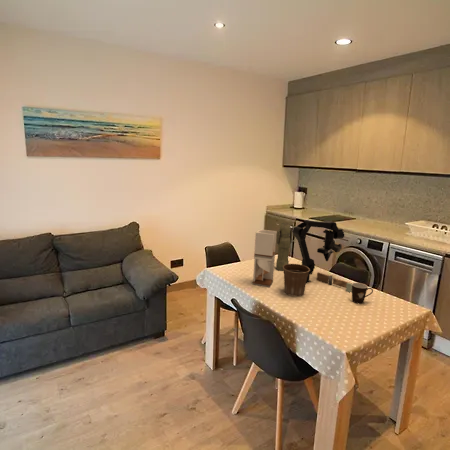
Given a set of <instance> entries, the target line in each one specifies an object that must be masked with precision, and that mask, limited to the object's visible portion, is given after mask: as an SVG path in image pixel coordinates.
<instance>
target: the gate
mask: <svg viewBox="0 0 450 450" xmlns="http://www.w3.org/2000/svg"><path fill="white" fill-rule="evenodd" d="M347 283H351V284H352V282H349V281H346V280H342V279H340V278H339V279H338V278H336V277H333V279H332V285H335V286H338V287H340V288H344V289H346V285H347Z"/></svg>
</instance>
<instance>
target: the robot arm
mask: <svg viewBox="0 0 450 450" xmlns="http://www.w3.org/2000/svg"><path fill="white" fill-rule="evenodd" d="M311 227H312V228H319V229H320V228H323V229H325V230H322V233H323V234H325V235H324V239H323V241H322V242H323V243H324V244H323V245H322V247H318V248H317V249H316V252H317V253H319V254H322V255H323V257H324V260H325V261H326V262H328V261H329V259H330V258H331V255H332V254H333V253H340V251H341V250H342V249H343V248H342V247H343V245H342V244H341V243H338V244H337V243H336V241H335V240H338V239H344V238H345V232H344V229H343V228H338V224H337V222H335V221H331V220H324V221H316V220H310V219H305V220H304V221H303V222H301V223H300V224H297V226H295V227H294V228H293V229H292V235H293V236H294V238H295V239H296V240H297V243H298V246H299V251H300V253H301V258H302V260H301V265H304V266H306V267H308V268H309V269H310V271H309V273H308V277H307V280H306V284H308V283H311V282H312V281H311V280H310V275H313V272H314V269H315V268H316V267H315V266H316V264H315V260H314V259H312V258H311V257H310V253H309V249H308V245H307V242H306V237H307V233H309V231H310V229H311Z"/></svg>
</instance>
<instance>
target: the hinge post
mask: <svg viewBox="0 0 450 450" xmlns="http://www.w3.org/2000/svg"><path fill="white" fill-rule="evenodd" d="M316 274H317V275H316V281H318V282H320V283H323V284H326V285H328V286H332V285H333V278H334V276H333V274H332V275H331V274H329V275H328V274H325V273H321V272H317V273H316Z"/></svg>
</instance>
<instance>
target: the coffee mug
mask: <svg viewBox="0 0 450 450" xmlns="http://www.w3.org/2000/svg"><path fill="white" fill-rule="evenodd" d="M351 283H352V282H351ZM368 290H371V292H370V293H369V294H367V292H368ZM373 292H374V289H373V288H372V287H368V285H367V284H365V283H362V282H353V283H352V292H351V301H352V302H353V303H355V304H358V303H359V304H358V305H362V304H364V302H365V298H366V297H369V296H370V295H372V294H373ZM366 294H367V295H366Z"/></svg>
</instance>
